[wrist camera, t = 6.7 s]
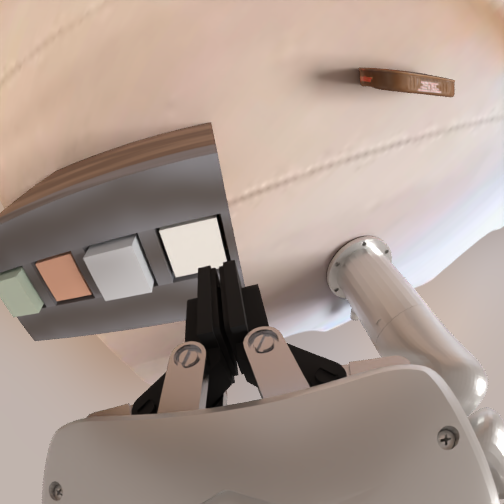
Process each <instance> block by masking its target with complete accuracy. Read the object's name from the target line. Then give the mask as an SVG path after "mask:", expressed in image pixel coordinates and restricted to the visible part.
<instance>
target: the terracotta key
mask: <svg viewBox="0 0 504 504" xmlns="http://www.w3.org/2000/svg"><path fill="white" fill-rule="evenodd" d="M36 266H37V268H38V270H39V272H40V274H41V275H42V277H43V279H44V281H45V282H46V284H47V286H48V288H49V289H50V291H51V293H52V294H53V296H54V297H55V299H56V301H61V300H66V299H72V298H77V297H82V296H87V295H91V294H92V291H91V289H90V288H89V286H88V284H87V282H86V280H85V278H84V276H83V275H82V273H81V271H80V269H79V267H78V265H77V263H76V261H75V259H74V257H73V255H72V253H71V251H68V252H65V253H61V254H58V255H55V256H51V257H48V258H45V259H41V260H38V261H37V262H36Z"/></svg>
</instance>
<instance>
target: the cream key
mask: <svg viewBox="0 0 504 504" xmlns="http://www.w3.org/2000/svg"><path fill="white" fill-rule="evenodd" d="M159 232H160V235H161V238H162V241H163V243H164V246H165V249H166V252H167V255H168V257H169V260H170V263H171V266H172V268H173V271H174V274H175V276H176V277H180V276H185V275H190V274H194V273H198V268H201V267H205V266H209V265H210V266H211V268H216V269H218V268H219V266H223V262H227V256H226V249H225V245H224V240H223V236H222V232H221V227H220V223H219V219H218V214H216V215H211V216H207V217H202V218H198V219H193V220H189V221H185V222H180V223H176V224H172V225H168V226H163V227H160V230H159Z"/></svg>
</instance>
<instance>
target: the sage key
mask: <svg viewBox="0 0 504 504" xmlns="http://www.w3.org/2000/svg"><path fill="white" fill-rule="evenodd" d="M0 298H1V300H2V301H3V302H4V304H5V306H6V307H7V309H8V310H9V312H10V313H11V314H12V316H13V317H18V316H24V315H30V314H36V313H39V312H40V310H41V308H42V306H43V304H44V302H43V300H42V299H41V297H40V296H39V294H38V292H37V291H36V289H35V288H34V286H33V284H32V283H31V281H30V279H29V277H28V276H27V274H26V272H25V270H24V268H23V267H22V266H19V267H16V268H13V269H10V270H7V271H4V272H1V273H0Z"/></svg>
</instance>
